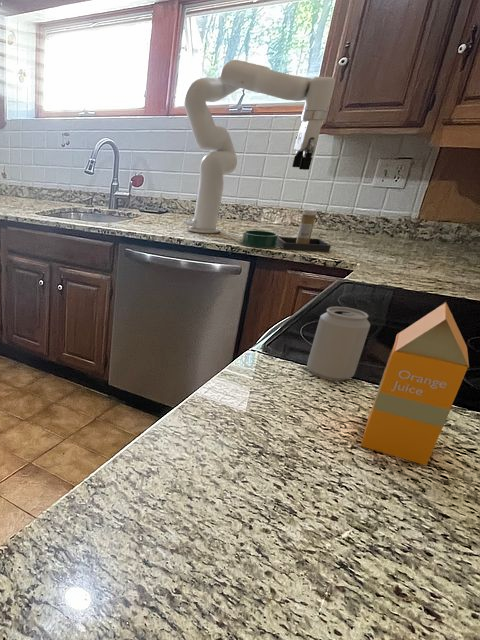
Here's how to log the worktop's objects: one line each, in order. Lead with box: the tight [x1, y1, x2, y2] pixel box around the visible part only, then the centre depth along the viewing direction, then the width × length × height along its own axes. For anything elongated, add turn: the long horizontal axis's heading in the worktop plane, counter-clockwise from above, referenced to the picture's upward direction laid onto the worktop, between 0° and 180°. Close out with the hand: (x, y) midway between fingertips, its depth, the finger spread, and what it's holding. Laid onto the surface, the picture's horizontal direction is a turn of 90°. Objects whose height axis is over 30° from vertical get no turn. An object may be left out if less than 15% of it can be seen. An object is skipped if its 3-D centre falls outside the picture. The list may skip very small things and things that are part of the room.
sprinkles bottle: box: [296, 208, 318, 244], centre depth 193 cm, size 5×5×14 cm
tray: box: [276, 236, 332, 253], centre depth 195 cm, size 15×12×2 cm
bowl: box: [241, 229, 279, 249], centre depth 198 cm, size 12×12×4 cm
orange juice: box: [360, 301, 470, 466], centre depth 71 cm, size 8×9×20 cm
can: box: [306, 306, 371, 382], centre depth 93 cm, size 8×8×12 cm
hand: (300, 168), depth 191 cm, fingers open, 9 cm apart
